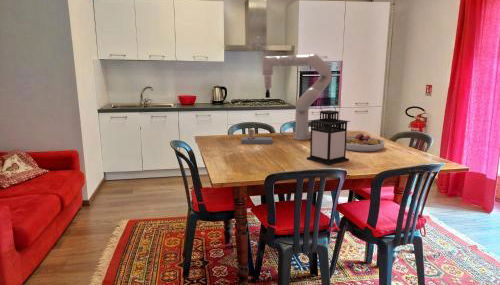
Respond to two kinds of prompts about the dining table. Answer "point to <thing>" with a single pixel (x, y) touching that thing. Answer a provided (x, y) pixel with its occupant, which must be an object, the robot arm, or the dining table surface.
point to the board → (256, 140)
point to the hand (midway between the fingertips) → (267, 97)
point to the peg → (251, 133)
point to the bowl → (363, 143)
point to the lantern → (328, 139)
